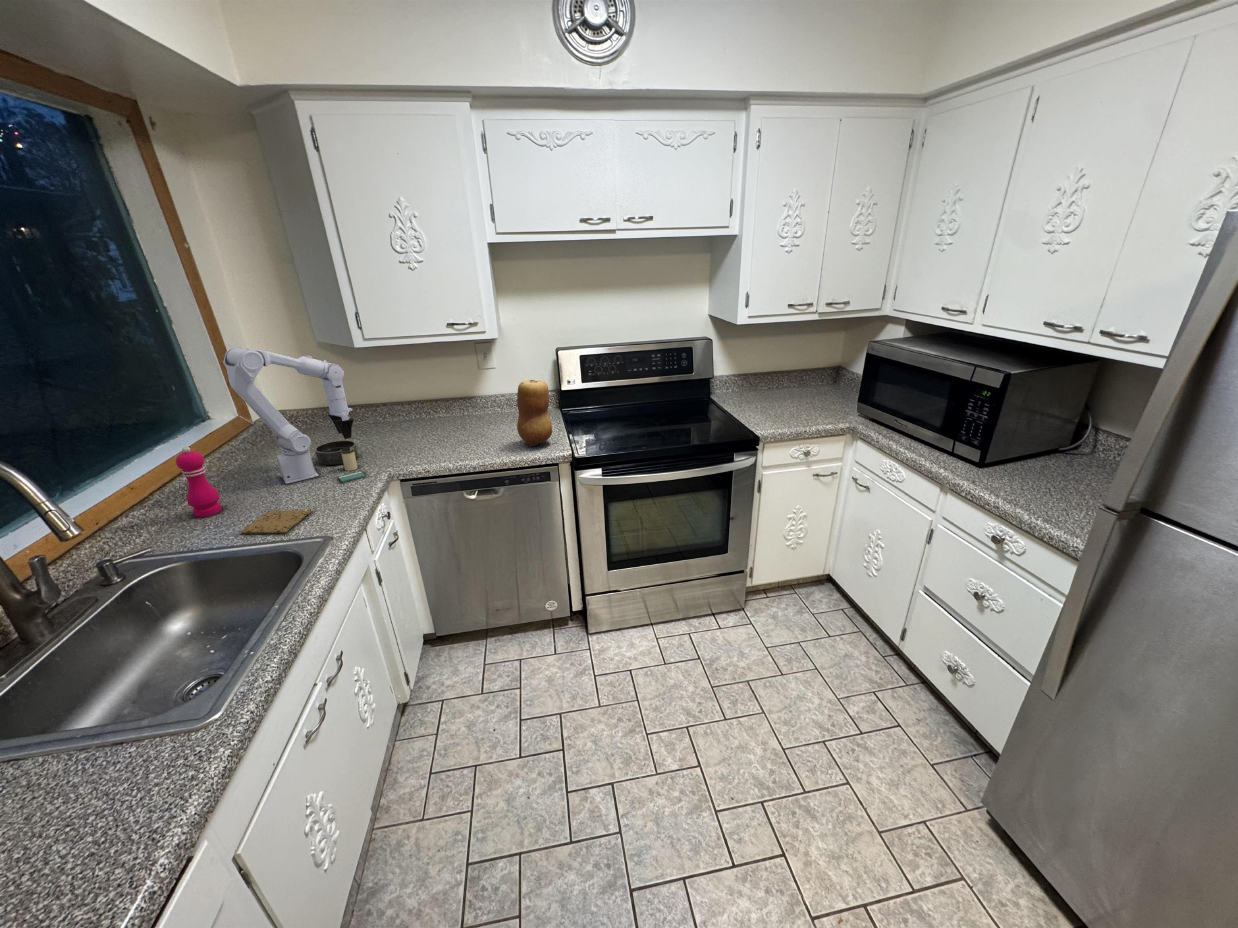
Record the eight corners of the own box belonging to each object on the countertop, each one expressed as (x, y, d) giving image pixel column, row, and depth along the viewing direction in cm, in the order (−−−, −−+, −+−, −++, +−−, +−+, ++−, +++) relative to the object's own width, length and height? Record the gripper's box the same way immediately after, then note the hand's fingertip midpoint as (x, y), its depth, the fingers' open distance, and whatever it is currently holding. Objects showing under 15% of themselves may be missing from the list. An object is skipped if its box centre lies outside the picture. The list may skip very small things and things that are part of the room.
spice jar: (346, 471, 171) (341, 452, 169) (343, 468, 174) (338, 449, 172) (359, 468, 174) (355, 449, 171) (356, 465, 177) (351, 446, 174)
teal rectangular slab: (342, 482, 163) (341, 481, 163) (338, 478, 166) (337, 476, 166) (365, 477, 167) (364, 475, 167) (360, 472, 171) (360, 470, 170)
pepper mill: (219, 504, 149) (197, 440, 142) (227, 511, 145) (205, 446, 138) (189, 513, 144) (165, 447, 137) (196, 520, 140) (171, 453, 132)
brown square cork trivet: (312, 512, 144) (311, 509, 143) (286, 533, 133) (285, 530, 132) (270, 512, 144) (269, 509, 143) (240, 533, 133) (239, 530, 132)
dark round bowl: (322, 469, 174) (319, 455, 172) (314, 458, 183) (310, 445, 181) (363, 459, 181) (360, 446, 180) (353, 450, 191) (350, 437, 189)
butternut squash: (556, 447, 192) (553, 382, 182) (522, 452, 187) (516, 386, 178) (547, 436, 204) (543, 375, 194) (514, 440, 199) (509, 378, 190)
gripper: (354, 400, 170) (363, 438, 175) (343, 392, 180) (351, 428, 185) (331, 403, 165) (340, 442, 171) (321, 395, 176) (330, 432, 181)
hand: (344, 435), depth 178 cm, fingers open, 7 cm apart
